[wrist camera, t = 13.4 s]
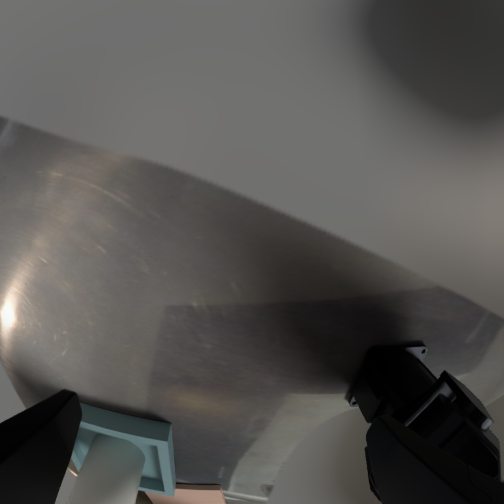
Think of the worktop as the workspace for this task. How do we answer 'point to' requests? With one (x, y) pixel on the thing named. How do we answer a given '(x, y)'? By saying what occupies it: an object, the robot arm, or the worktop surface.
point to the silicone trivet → (191, 495)
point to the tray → (140, 434)
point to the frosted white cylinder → (109, 473)
